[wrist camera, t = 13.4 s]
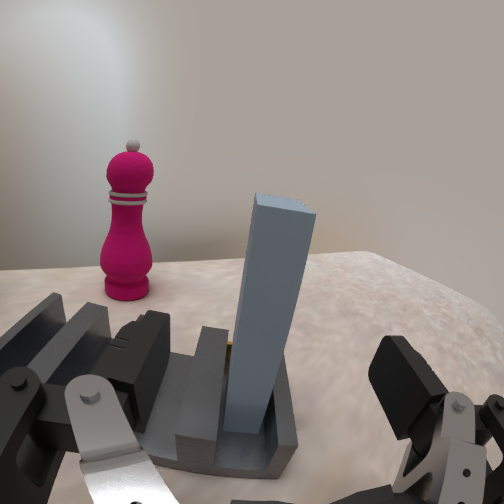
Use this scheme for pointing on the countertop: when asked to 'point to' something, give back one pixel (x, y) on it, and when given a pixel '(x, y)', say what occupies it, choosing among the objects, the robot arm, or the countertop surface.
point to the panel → (265, 306)
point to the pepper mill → (127, 226)
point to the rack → (162, 392)
